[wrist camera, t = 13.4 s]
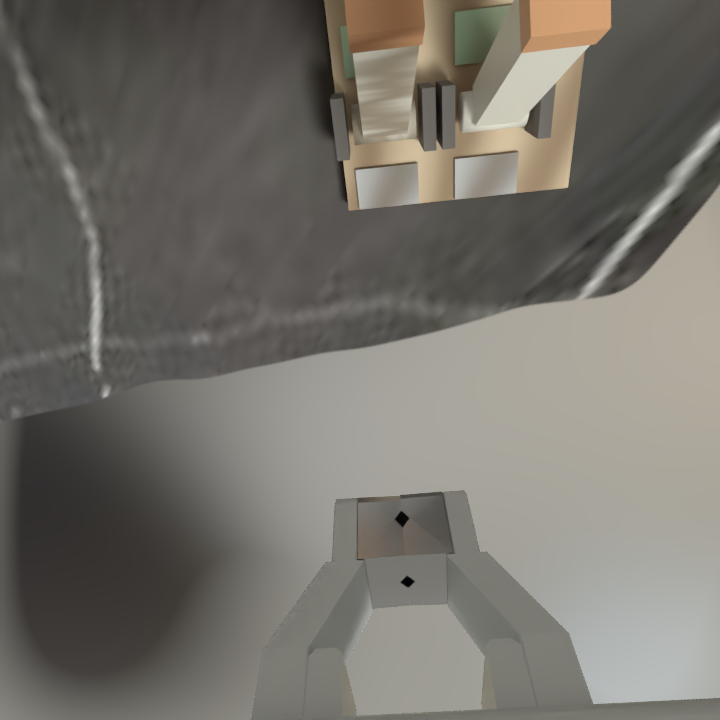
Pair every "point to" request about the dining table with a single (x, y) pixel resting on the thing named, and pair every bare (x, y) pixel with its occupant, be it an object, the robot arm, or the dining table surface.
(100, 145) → the dining table surface
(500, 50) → the lever
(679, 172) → the dining table surface
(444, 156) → the console
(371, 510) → the robot arm
